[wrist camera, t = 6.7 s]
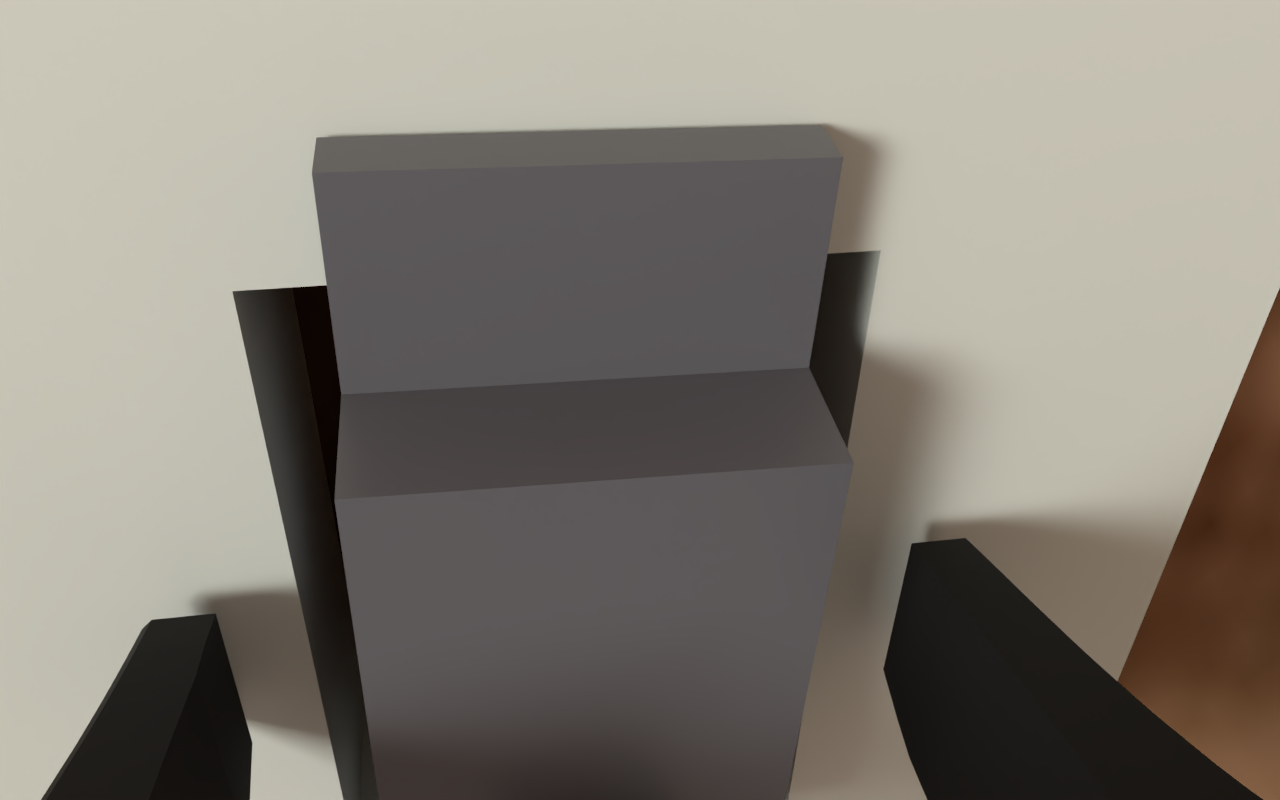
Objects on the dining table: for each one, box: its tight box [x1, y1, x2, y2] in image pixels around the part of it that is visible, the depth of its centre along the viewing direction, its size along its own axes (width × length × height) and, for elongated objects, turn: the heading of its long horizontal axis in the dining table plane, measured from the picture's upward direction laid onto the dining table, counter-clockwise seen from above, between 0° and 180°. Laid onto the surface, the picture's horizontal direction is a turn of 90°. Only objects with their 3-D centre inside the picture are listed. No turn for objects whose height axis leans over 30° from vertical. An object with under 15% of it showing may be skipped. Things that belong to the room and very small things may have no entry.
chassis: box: [0, 0, 1280, 800], centre depth 15 cm, size 20×14×3 cm
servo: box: [312, 125, 854, 800], centre depth 13 cm, size 11×4×6 cm, turn 178°
